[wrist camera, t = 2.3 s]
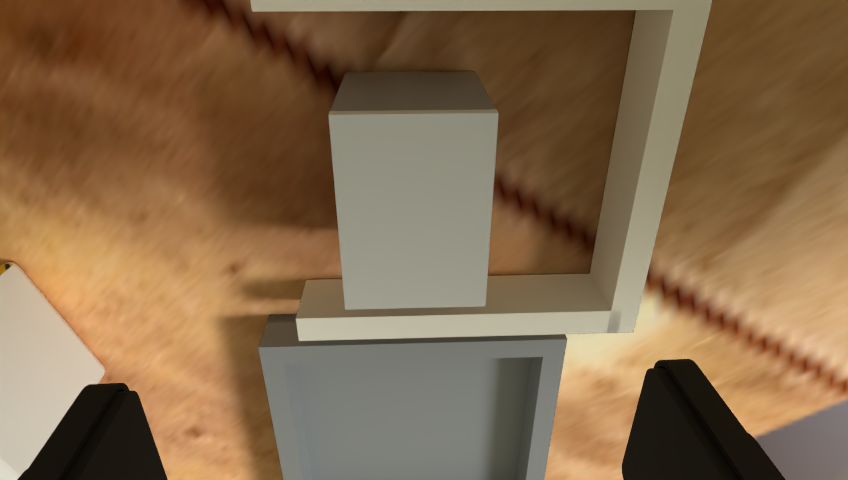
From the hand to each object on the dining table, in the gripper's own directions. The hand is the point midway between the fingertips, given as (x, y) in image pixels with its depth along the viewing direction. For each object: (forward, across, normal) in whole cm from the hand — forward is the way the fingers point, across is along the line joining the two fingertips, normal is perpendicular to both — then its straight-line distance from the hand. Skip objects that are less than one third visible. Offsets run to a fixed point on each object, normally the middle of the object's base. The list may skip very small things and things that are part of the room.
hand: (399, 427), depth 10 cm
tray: (+14, -1, +15) cm, 21 cm away
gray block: (+14, -1, 0) cm, 14 cm away
